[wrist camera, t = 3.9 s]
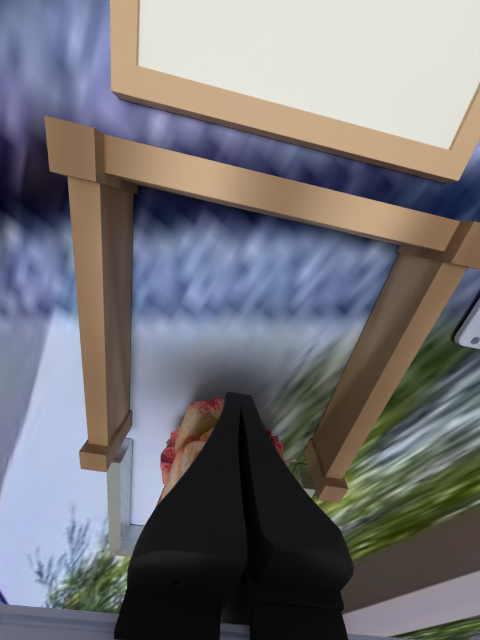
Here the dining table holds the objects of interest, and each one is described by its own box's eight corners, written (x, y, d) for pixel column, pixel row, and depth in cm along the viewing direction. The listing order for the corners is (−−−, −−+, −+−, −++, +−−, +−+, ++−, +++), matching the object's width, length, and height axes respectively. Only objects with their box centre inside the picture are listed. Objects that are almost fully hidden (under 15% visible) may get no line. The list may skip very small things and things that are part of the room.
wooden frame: (437, 228, 12) (511, 230, 9) (322, 454, 19) (339, 503, 16) (104, 148, 11) (44, 115, 7) (110, 423, 18) (80, 468, 14)
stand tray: (308, 464, 20) (315, 490, 18) (269, 545, 25) (271, 571, 23) (120, 437, 18) (106, 461, 16) (120, 528, 23) (109, 554, 22)
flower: (314, 470, 17) (335, 541, 10) (224, 532, 18) (183, 645, 10) (247, 370, 20) (226, 372, 13) (169, 427, 20) (106, 459, 13)
